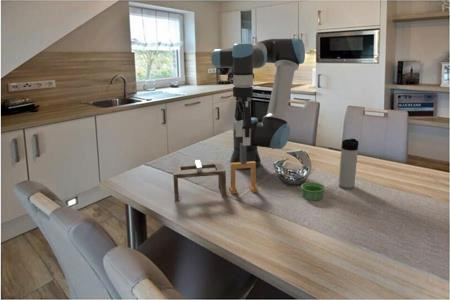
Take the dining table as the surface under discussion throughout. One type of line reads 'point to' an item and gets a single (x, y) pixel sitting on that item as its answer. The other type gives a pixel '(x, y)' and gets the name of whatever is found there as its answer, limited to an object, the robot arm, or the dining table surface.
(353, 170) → the travel mug
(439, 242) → the dining table surface
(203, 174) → the brown frame with crossbar
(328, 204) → the dining table surface
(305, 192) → the ramekin
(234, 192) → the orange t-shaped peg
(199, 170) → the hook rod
